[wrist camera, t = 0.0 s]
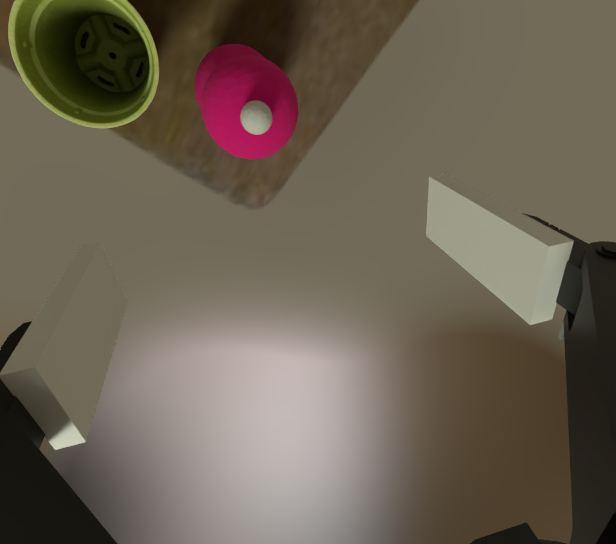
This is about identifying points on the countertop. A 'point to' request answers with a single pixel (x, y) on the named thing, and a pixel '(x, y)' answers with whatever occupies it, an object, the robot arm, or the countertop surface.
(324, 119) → the countertop surface
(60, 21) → the plant pot
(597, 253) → the robot arm
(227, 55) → the pepper mill
